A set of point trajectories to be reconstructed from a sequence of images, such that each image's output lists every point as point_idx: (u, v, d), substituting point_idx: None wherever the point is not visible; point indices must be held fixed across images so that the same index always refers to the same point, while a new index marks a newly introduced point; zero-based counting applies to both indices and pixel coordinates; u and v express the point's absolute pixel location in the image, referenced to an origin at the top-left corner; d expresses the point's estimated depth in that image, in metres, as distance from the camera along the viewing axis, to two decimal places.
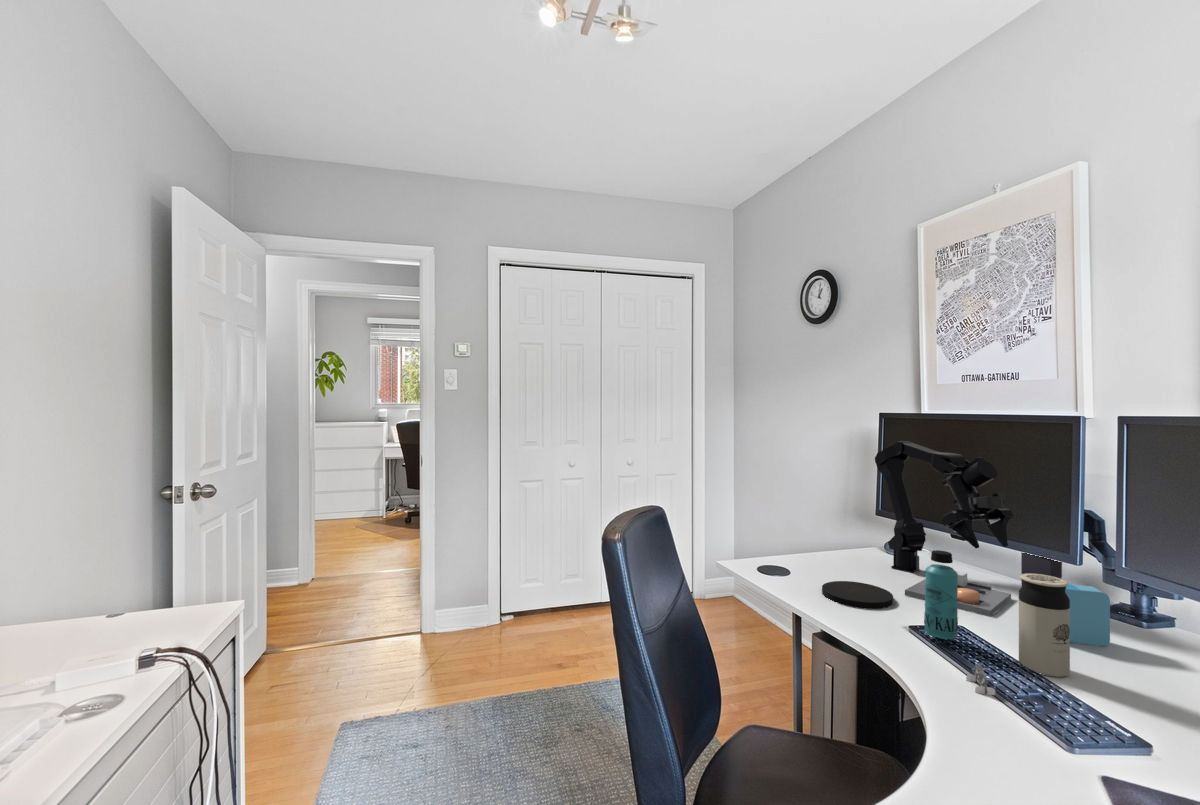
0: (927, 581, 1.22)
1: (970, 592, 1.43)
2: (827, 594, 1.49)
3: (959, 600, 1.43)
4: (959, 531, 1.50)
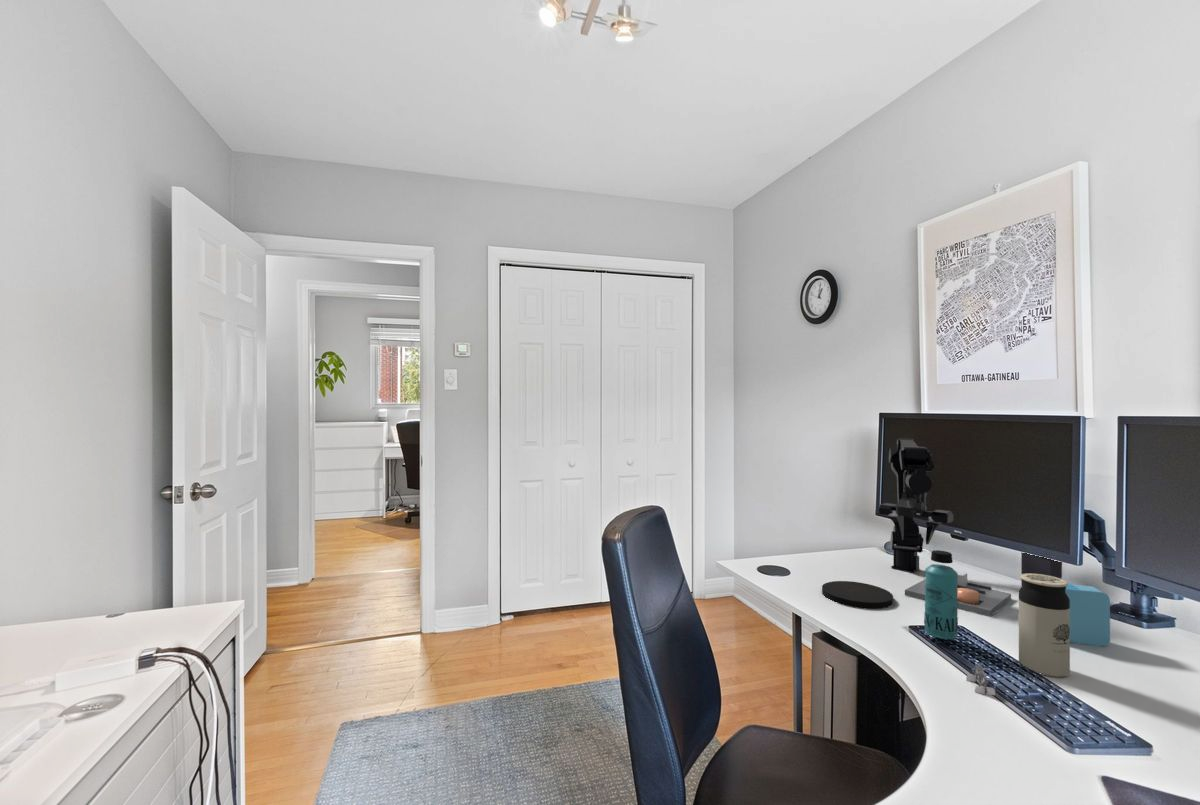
0: (927, 581, 1.22)
1: (970, 592, 1.43)
2: (827, 594, 1.49)
3: (959, 600, 1.43)
4: None
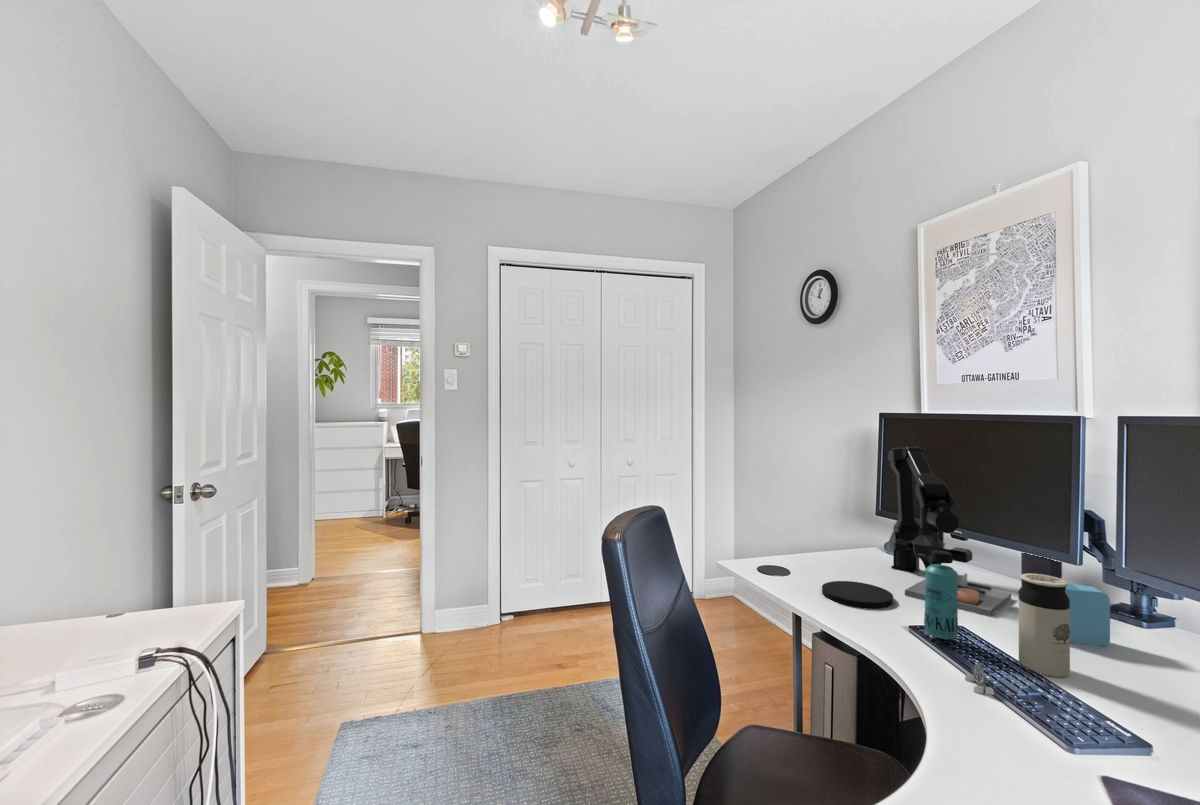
0: (927, 581, 1.22)
1: (970, 592, 1.43)
2: (827, 594, 1.49)
3: (959, 600, 1.43)
4: None
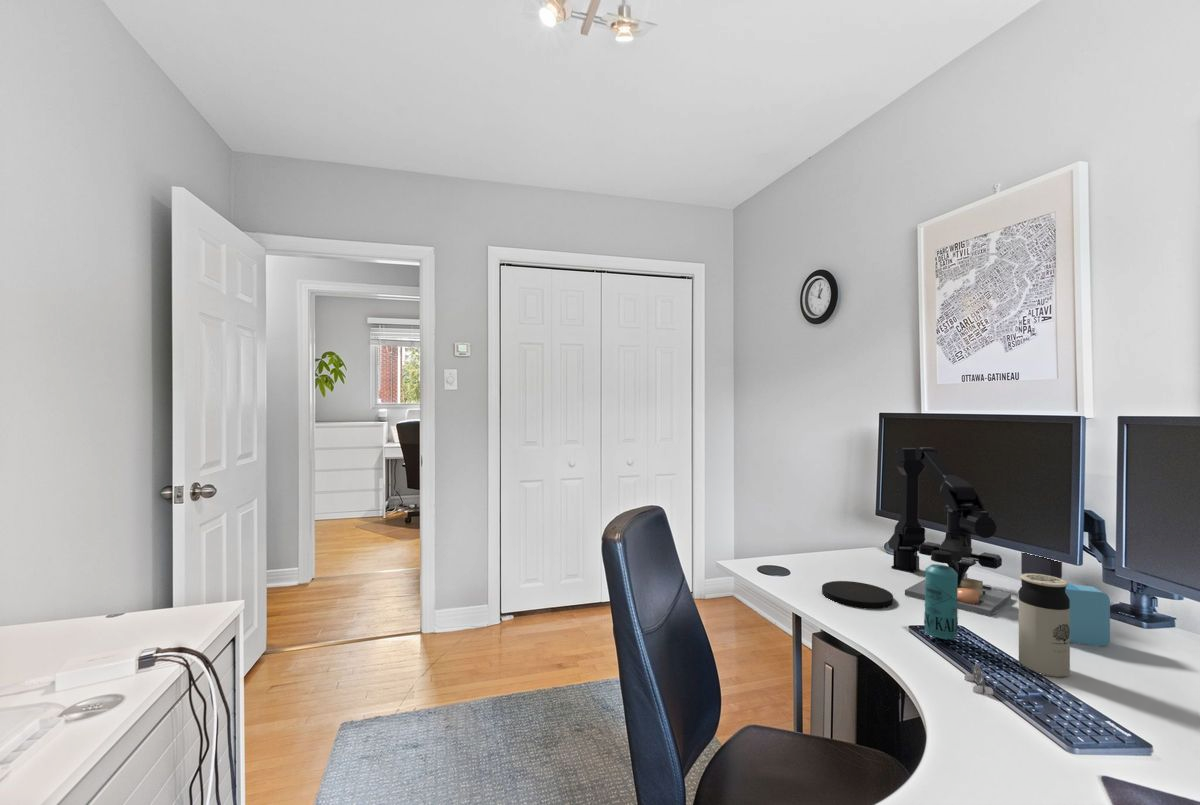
0: (927, 581, 1.22)
1: (970, 592, 1.43)
2: (827, 594, 1.49)
3: (959, 600, 1.43)
4: None
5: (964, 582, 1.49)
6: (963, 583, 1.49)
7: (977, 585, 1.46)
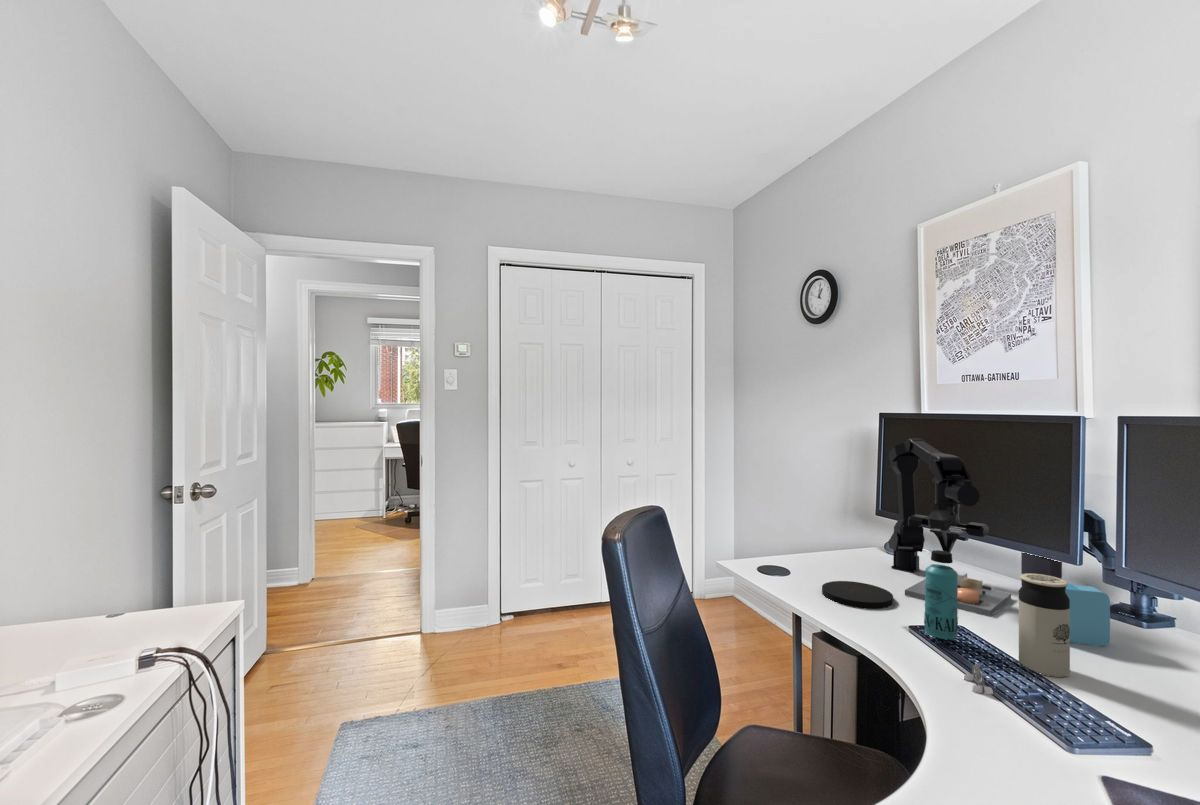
0: (927, 581, 1.22)
1: (970, 592, 1.43)
2: (827, 594, 1.49)
3: (959, 600, 1.43)
4: None
5: (964, 582, 1.49)
6: (963, 583, 1.49)
7: (977, 585, 1.47)
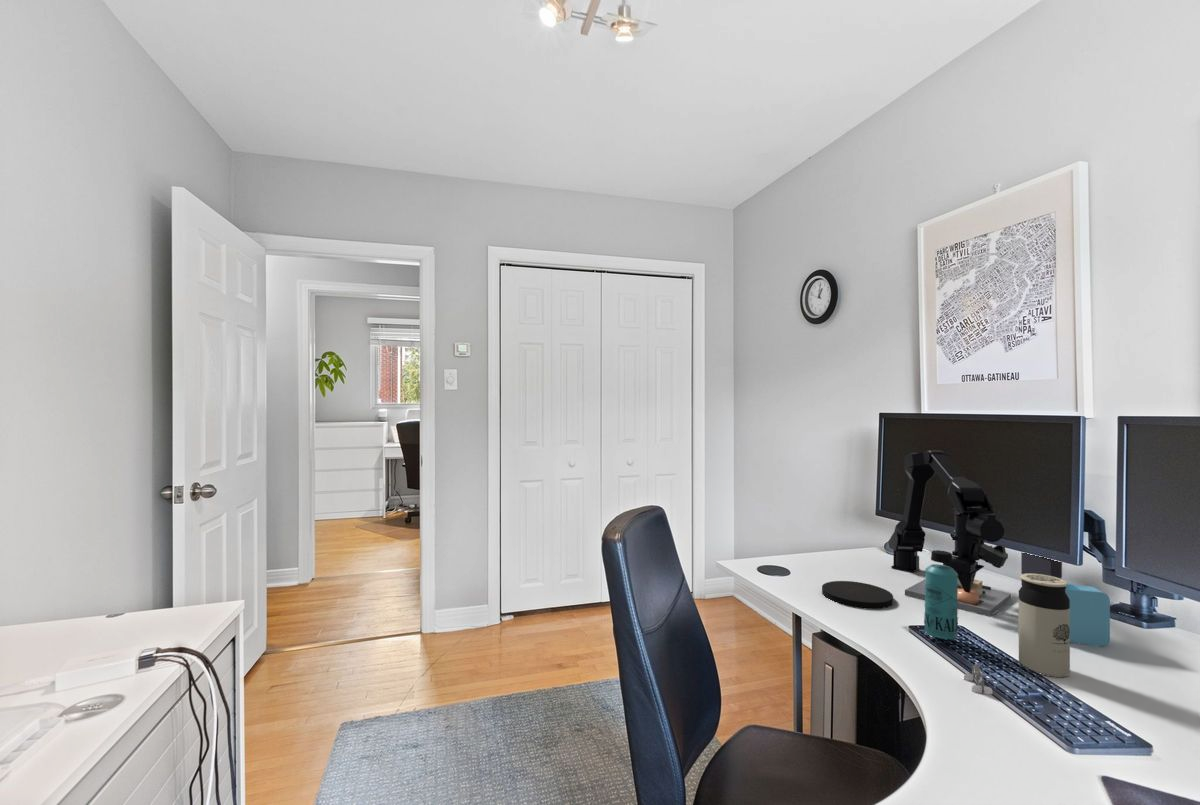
0: (927, 581, 1.22)
1: (970, 593, 1.43)
2: (827, 594, 1.49)
3: (959, 601, 1.43)
4: (958, 572, 1.44)
5: None
6: None
7: (977, 585, 1.47)
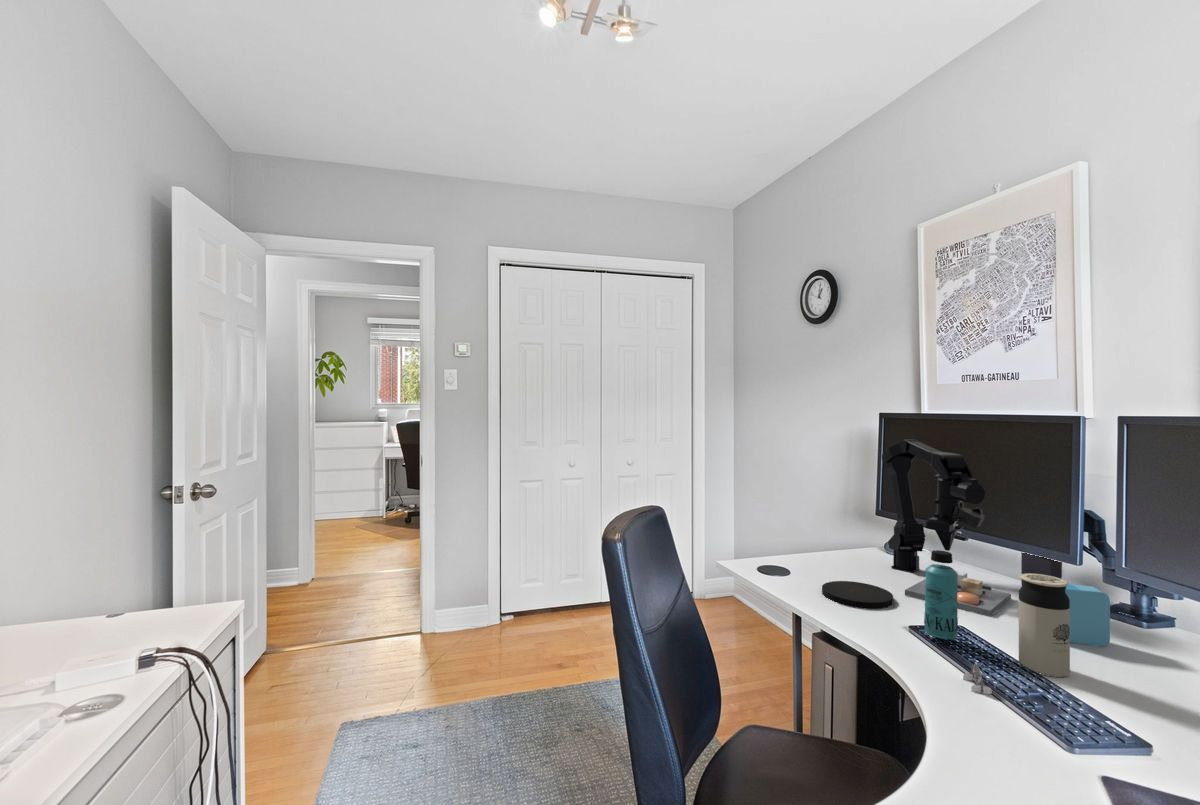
0: (927, 581, 1.22)
1: (970, 596, 1.43)
2: (827, 594, 1.49)
3: None
4: (939, 532, 1.58)
5: (964, 582, 1.49)
6: (963, 583, 1.49)
7: (977, 585, 1.47)
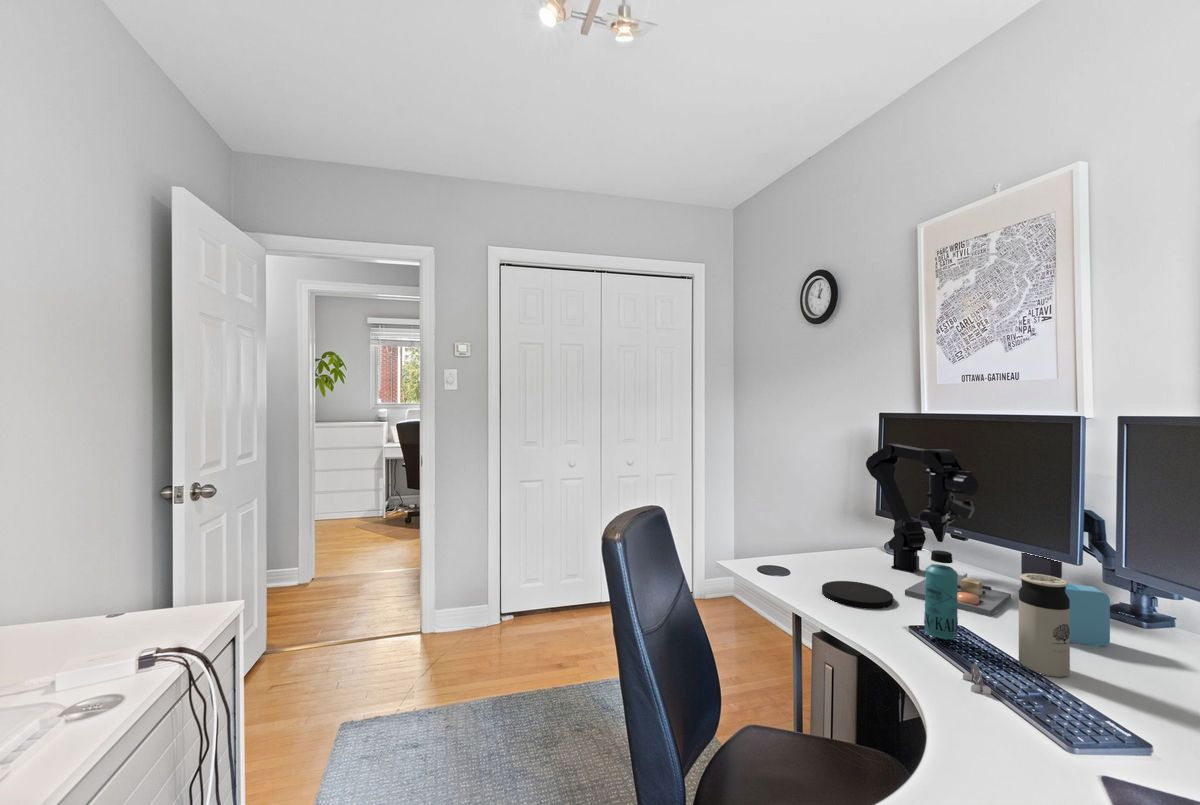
0: (927, 581, 1.22)
1: (970, 596, 1.43)
2: (827, 594, 1.49)
3: None
4: (932, 524, 1.65)
5: (964, 582, 1.49)
6: (963, 583, 1.49)
7: (977, 585, 1.47)
